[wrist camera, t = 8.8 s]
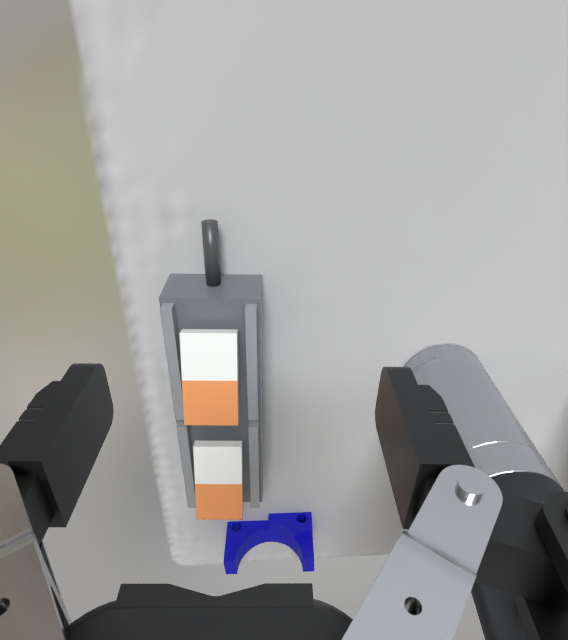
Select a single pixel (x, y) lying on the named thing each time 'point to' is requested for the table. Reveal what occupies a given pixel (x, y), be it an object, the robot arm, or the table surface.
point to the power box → (245, 315)
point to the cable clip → (270, 538)
